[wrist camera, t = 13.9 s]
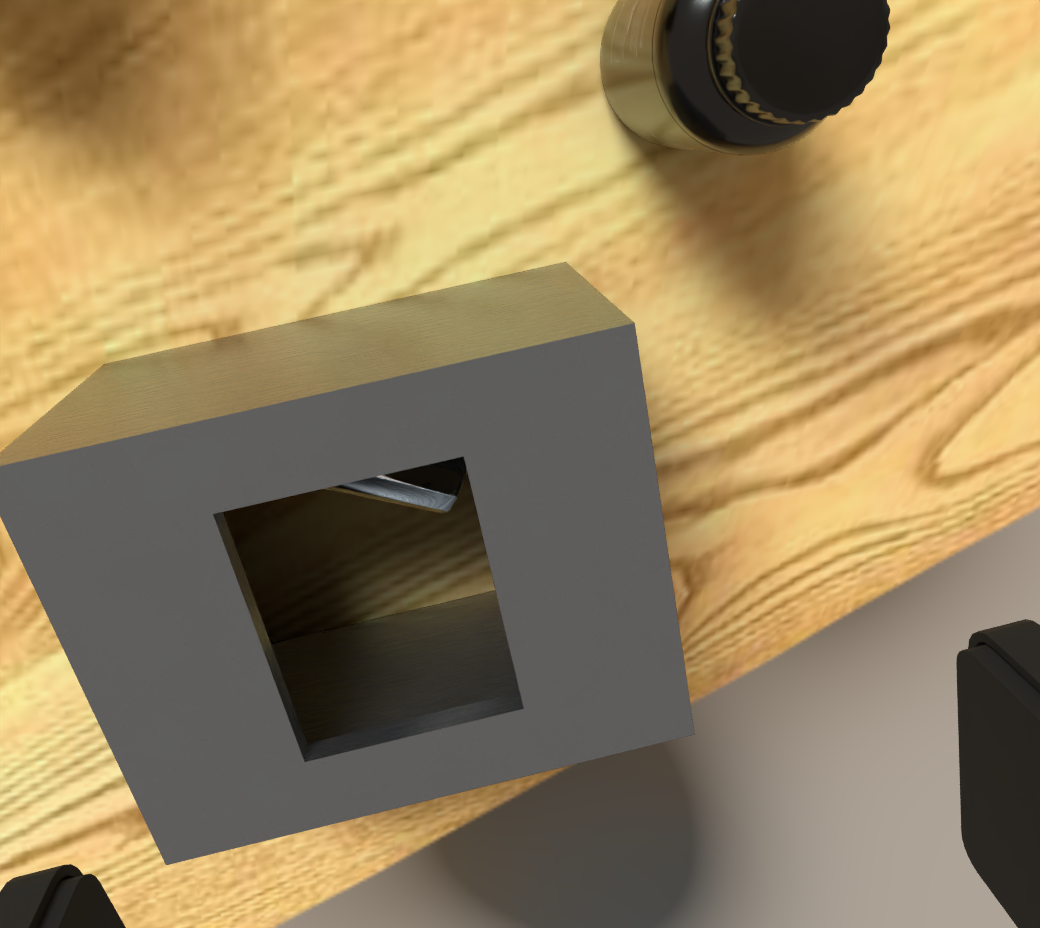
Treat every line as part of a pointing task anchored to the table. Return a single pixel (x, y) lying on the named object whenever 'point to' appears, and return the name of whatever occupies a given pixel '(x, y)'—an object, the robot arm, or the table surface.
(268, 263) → the table surface
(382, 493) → the milkshake
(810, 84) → the supplement bottle
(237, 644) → the box
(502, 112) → the table surface
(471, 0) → the table surface
